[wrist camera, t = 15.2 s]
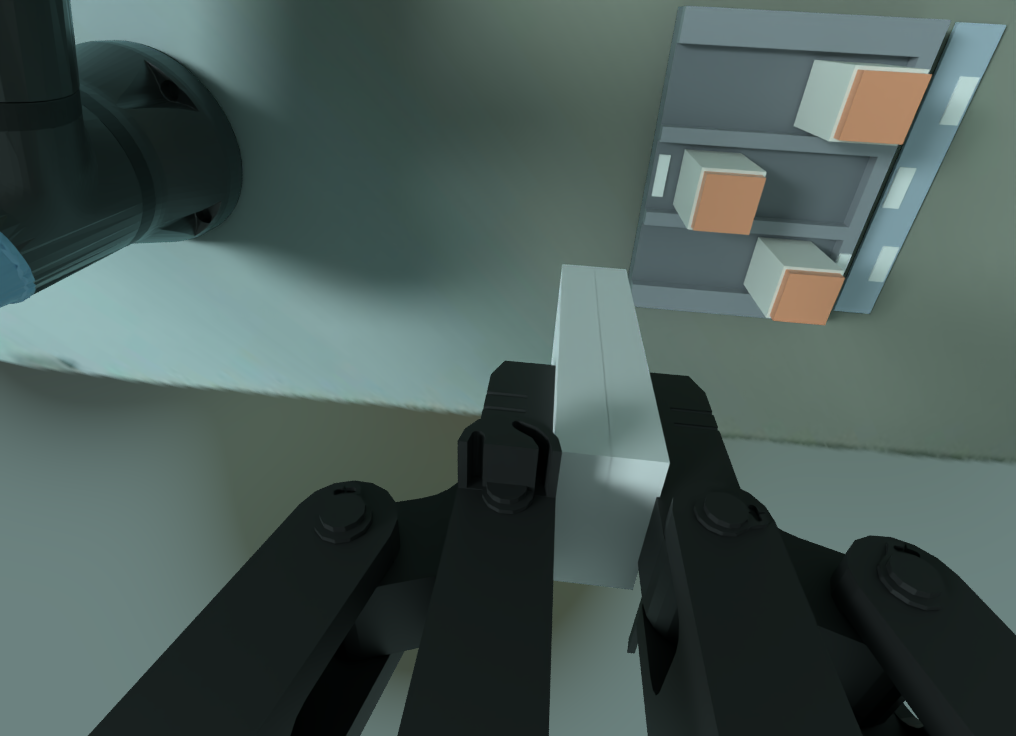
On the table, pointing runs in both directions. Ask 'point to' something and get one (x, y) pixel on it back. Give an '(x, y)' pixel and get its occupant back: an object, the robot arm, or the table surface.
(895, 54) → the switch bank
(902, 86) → the white orange-topped block
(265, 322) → the table surface
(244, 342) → the table surface
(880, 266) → the label card
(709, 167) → the orange-topped white block
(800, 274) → the orange topped white block
